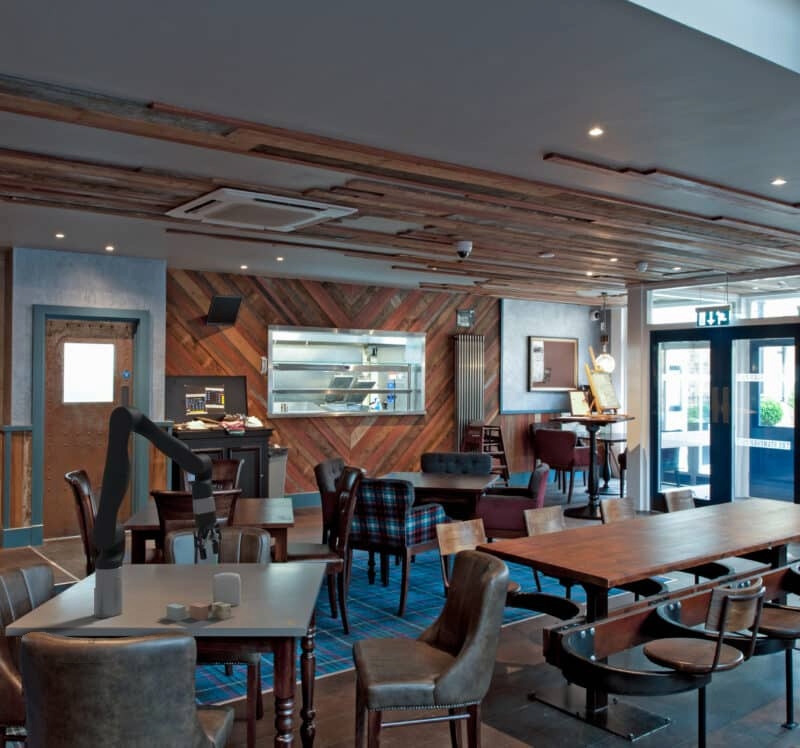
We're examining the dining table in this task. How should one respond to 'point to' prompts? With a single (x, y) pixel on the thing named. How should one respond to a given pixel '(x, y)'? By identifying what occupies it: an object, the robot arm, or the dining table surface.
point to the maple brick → (221, 610)
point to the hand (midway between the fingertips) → (210, 556)
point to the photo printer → (227, 588)
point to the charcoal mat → (195, 621)
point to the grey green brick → (175, 612)
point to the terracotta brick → (198, 611)
